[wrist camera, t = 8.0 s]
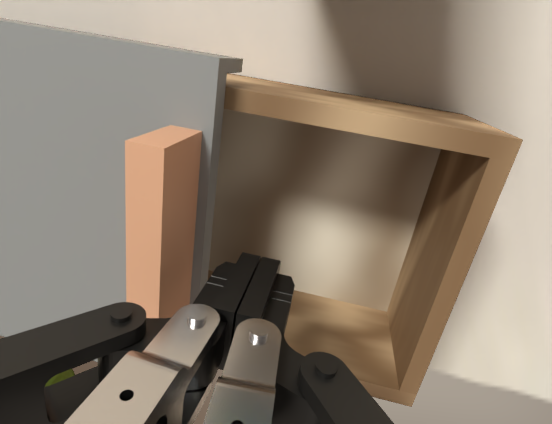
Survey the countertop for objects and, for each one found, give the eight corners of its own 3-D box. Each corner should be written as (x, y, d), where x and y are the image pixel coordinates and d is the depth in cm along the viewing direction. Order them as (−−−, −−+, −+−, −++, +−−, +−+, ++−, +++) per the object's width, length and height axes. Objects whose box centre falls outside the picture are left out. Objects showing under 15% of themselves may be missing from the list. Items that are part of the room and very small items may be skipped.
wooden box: (464, 114, 19) (522, 139, 13) (394, 316, 24) (411, 406, 18) (137, 57, 21) (45, 54, 15) (136, 255, 26) (68, 317, 20)
